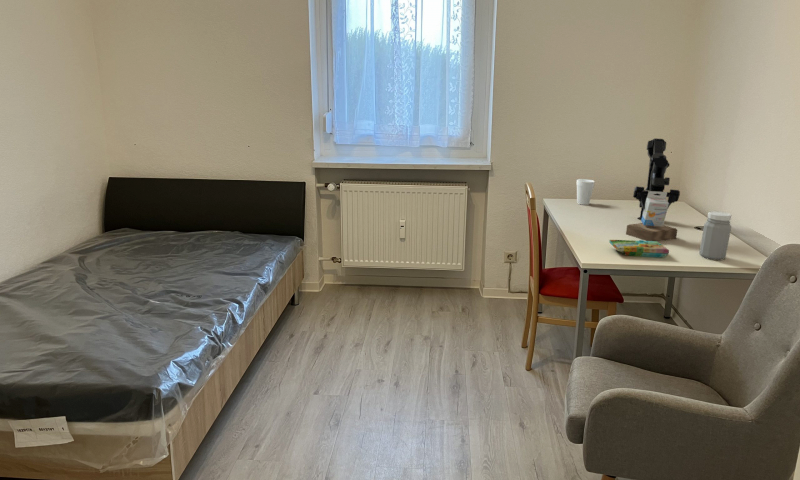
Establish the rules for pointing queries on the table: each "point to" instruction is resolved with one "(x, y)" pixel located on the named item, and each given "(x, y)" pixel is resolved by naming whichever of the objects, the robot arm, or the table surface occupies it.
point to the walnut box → (651, 232)
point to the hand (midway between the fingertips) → (655, 209)
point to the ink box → (655, 209)
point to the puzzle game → (640, 248)
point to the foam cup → (584, 191)
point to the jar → (716, 235)
